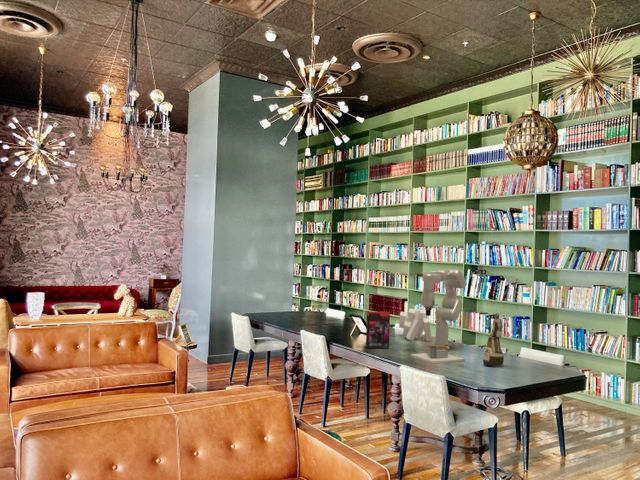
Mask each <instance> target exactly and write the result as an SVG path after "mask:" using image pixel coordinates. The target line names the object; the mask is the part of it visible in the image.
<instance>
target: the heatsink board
mask: <svg viewBox="0 0 640 480" xmlns="http://www.w3.org/2000/svg"><path fill="white" fill-rule="evenodd" d="M428 347H431V350H430V349H428ZM410 357H411V358H413V359H418V360H421V361H422V362H426V363H430V364H432V365H434V364H446V363H458V362H459V363H460V362H461V363H462V362H465V361H466V360H465V358H462V357H459V356H456V355H453V354H449V350H448V349H436V346H435V345H434V344H427V348H426V352H425V353H411V354H410Z"/></svg>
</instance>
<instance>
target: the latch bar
mask: <svg viewBox="0 0 640 480" xmlns="http://www.w3.org/2000/svg"><path fill="white" fill-rule="evenodd" d="M449 347H450V346H448V344H445V346H436V349H448V348H449ZM427 348H428V349H430V350H431V347H428V346H427Z"/></svg>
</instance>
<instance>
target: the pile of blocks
mask: <svg viewBox="0 0 640 480" xmlns="http://www.w3.org/2000/svg"><path fill="white" fill-rule="evenodd" d="M398 327H399V328H400V329H403V332H402V335H404V336H405V338H406V339H408V340H409V341H412V342H413V341H414V340H415V338H417V337H418V338H421V335H422V334H423V332H424V336H425V340H426V342H429V341H432V340H433V339H432V331H431V326H430V321H429V319H428V318H427V316H426V310H425V309H419V308H416V309H414V308H409V310H408V312H404V311H400V313H399V321H398Z"/></svg>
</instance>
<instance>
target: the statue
mask: <svg viewBox="0 0 640 480" xmlns="http://www.w3.org/2000/svg"><path fill="white" fill-rule="evenodd" d="M492 321H493V322H492V325H493V326H492V329H491V332H490V334H489V336H488V338H487V342H486V346H485V348H484V350H483V354H482V362H483V366H487V367H488V366H492V367H493V366H501V365H503V364H504V359H505V357H504V354H503V351H502V347H501V341H500V338H501V337H502V335H503V333H502V332H503V320H502V318H500V314H499V313H498V312H497V313H495V314H494V319H493V320H492Z"/></svg>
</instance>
